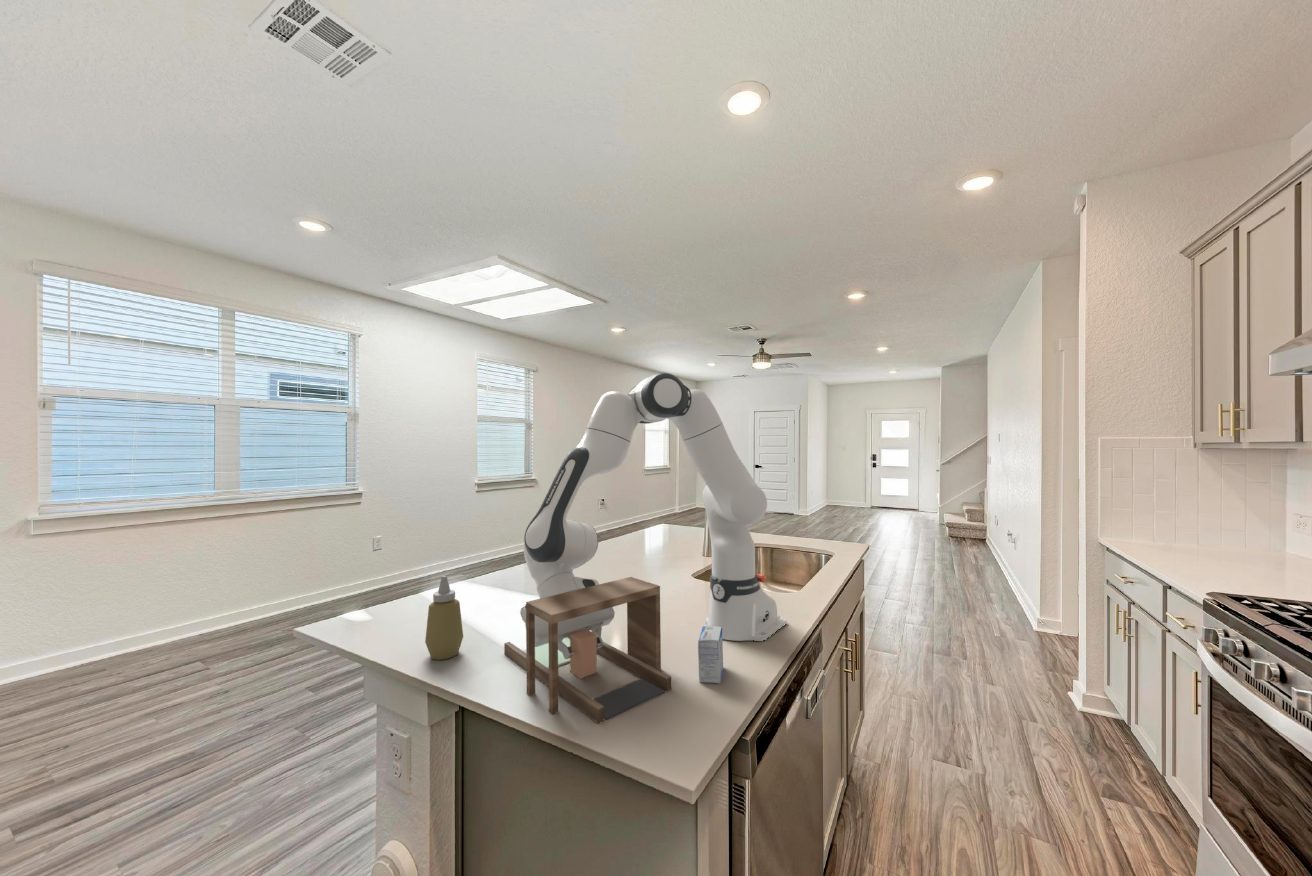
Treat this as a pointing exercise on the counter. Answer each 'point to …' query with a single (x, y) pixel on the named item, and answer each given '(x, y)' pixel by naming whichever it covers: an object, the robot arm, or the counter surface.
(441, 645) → the squeeze bottle
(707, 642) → the medicine box
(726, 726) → the counter surface
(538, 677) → the walnut tunnel
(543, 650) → the pad
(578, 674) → the terracotta block
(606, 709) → the pad
